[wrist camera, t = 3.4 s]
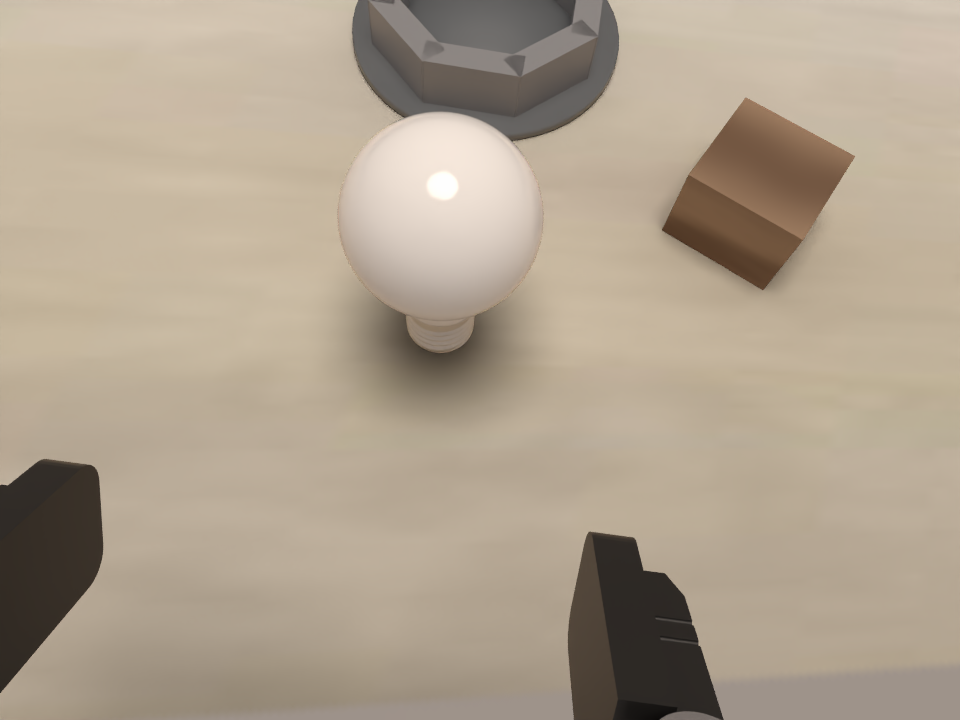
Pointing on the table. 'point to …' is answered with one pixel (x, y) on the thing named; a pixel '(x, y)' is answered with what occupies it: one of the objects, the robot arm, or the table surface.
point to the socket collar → (488, 58)
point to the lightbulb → (440, 222)
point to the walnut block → (756, 193)
